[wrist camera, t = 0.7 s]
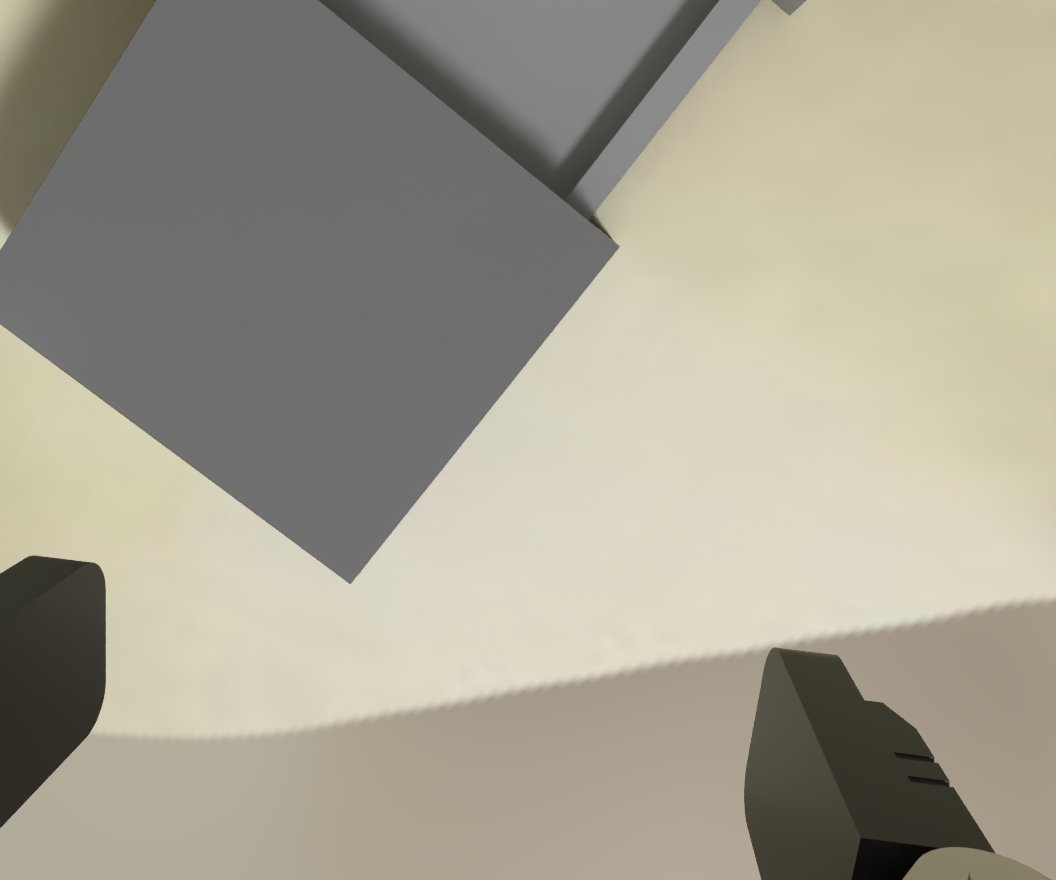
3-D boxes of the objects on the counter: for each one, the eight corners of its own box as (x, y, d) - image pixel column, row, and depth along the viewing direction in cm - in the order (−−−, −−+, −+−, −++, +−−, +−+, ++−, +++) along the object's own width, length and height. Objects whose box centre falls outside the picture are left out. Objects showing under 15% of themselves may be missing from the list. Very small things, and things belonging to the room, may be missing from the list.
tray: (455, -321, 30) (430, -428, 25) (810, -11, 32) (853, -53, 26) (211, 57, 33) (144, 29, 28) (545, 323, 35) (538, 342, 30)
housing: (272, -38, 32) (210, -88, 27) (614, 241, 34) (619, 246, 29) (61, 287, 35) (-32, 300, 30) (383, 530, 37) (350, 584, 32)
